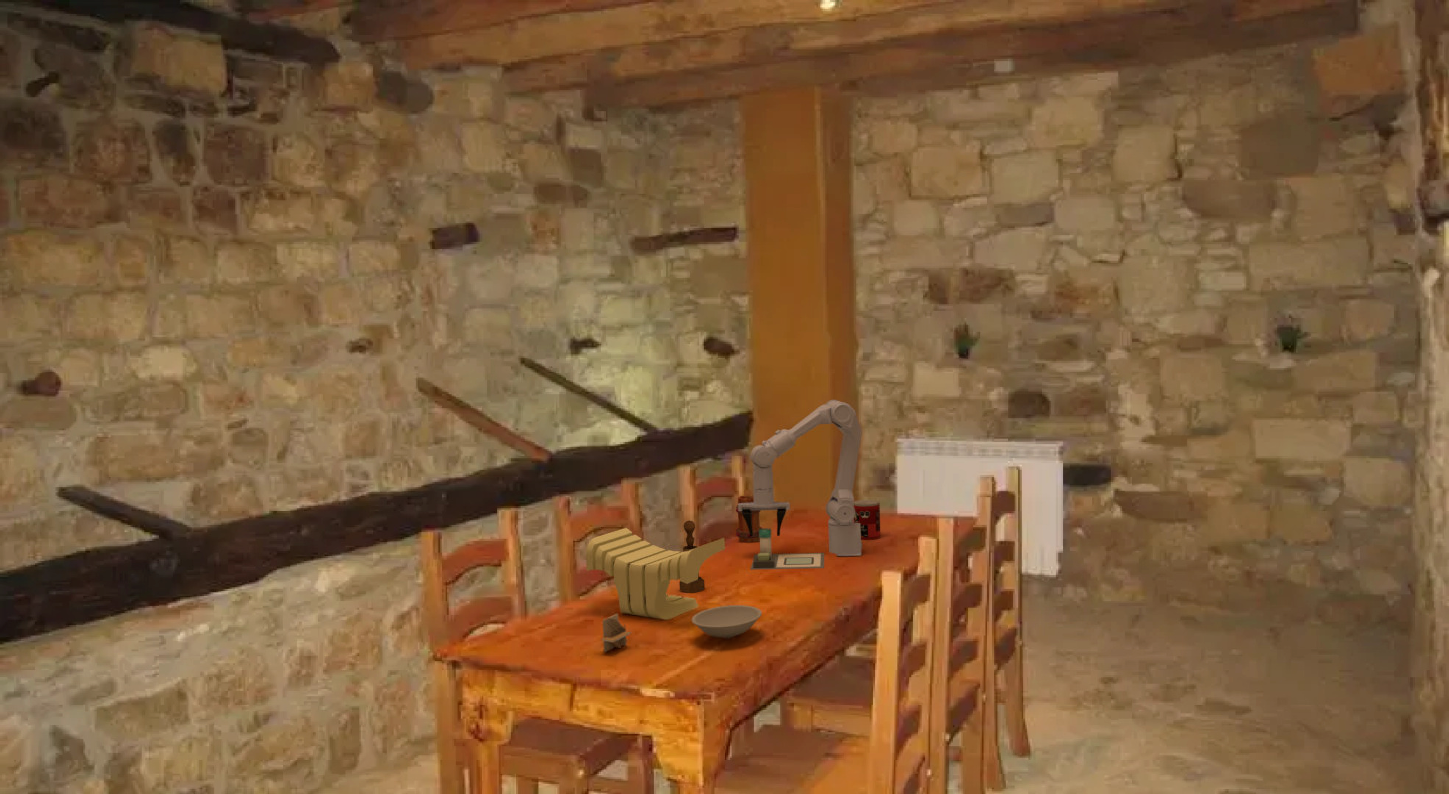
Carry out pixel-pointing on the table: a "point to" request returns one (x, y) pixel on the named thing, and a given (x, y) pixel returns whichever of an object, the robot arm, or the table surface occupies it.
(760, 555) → the button
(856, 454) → the robot arm
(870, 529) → the canned food
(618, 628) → the architectural model
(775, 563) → the colouring board
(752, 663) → the table surface
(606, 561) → the slatted curved stool
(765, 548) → the marker
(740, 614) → the dish
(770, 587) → the table surface
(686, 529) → the brown tall knobbed piece
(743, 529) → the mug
